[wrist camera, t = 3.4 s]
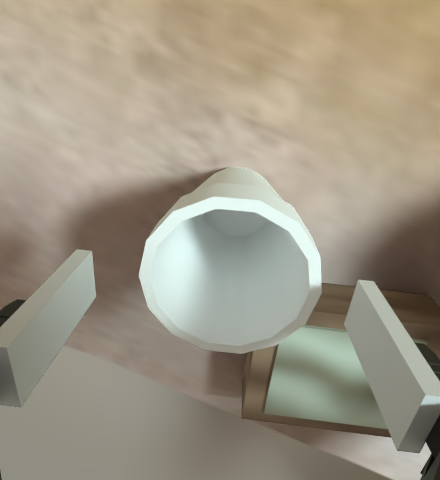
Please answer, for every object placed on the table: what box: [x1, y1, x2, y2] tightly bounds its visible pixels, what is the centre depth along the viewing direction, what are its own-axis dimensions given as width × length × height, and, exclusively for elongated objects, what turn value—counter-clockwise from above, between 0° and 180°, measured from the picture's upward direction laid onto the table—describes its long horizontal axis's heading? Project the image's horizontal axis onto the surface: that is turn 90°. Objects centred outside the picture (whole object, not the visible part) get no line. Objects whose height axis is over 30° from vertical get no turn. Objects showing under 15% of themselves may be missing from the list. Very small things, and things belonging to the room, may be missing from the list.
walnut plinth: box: [242, 283, 440, 437], centre depth 32 cm, size 14×16×5 cm
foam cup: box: [139, 167, 322, 354], centre depth 23 cm, size 10×9×13 cm
